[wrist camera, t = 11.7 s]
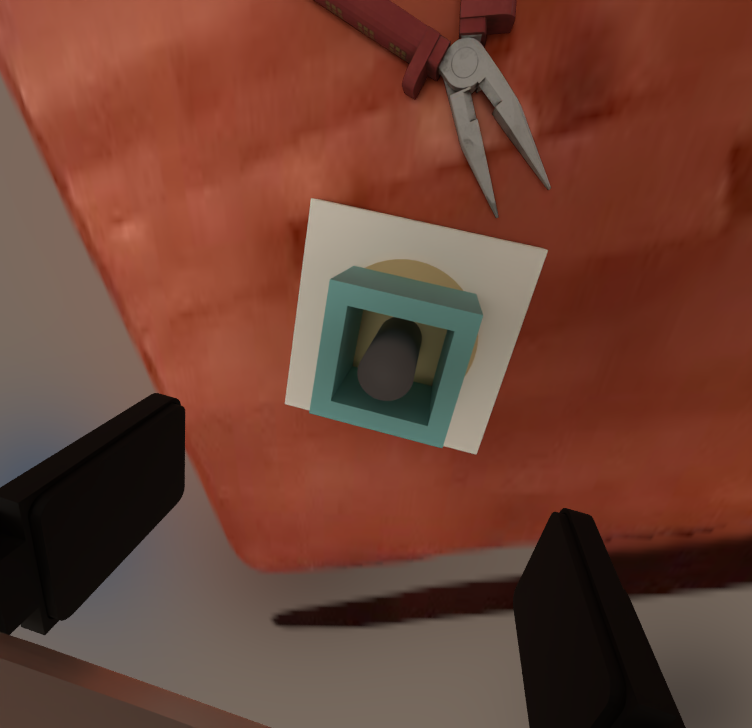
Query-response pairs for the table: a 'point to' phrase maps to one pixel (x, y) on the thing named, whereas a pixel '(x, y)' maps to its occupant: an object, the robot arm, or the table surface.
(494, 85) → the pliers
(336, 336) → the collar
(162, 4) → the table surface
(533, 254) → the post stand
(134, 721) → the robot arm
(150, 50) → the table surface
